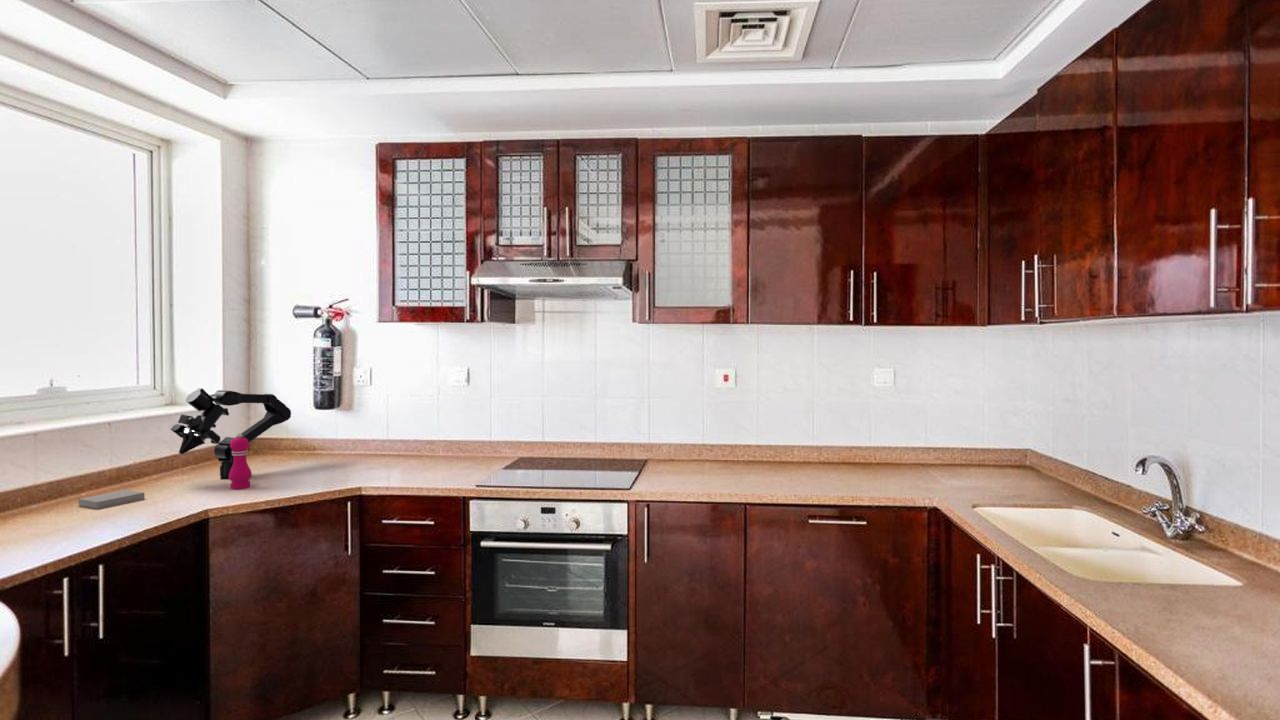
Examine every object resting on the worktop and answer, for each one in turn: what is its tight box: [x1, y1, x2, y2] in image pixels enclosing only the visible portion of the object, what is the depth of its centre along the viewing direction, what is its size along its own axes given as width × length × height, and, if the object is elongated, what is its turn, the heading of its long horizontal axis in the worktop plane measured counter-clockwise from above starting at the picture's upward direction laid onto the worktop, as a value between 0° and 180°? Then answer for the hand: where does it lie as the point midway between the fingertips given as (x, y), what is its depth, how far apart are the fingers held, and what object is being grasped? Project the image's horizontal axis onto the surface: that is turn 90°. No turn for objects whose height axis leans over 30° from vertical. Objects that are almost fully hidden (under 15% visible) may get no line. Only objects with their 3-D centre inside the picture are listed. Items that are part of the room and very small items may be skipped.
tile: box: [78, 489, 145, 510], centre depth 219 cm, size 3×10×14 cm
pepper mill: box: [229, 432, 253, 490], centre depth 240 cm, size 7×7×20 cm
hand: (180, 453), depth 239 cm, fingers closed
